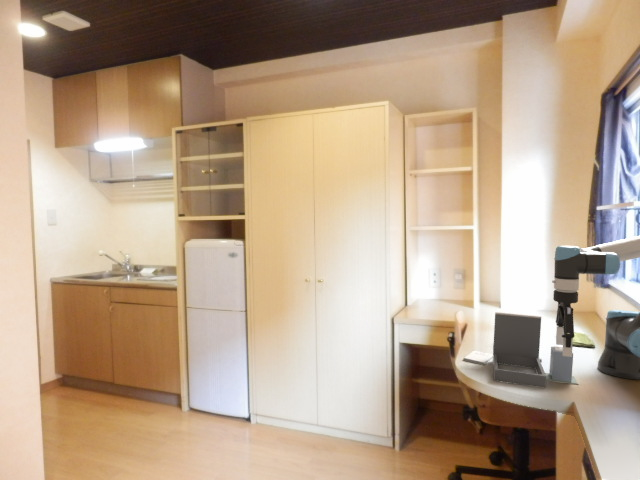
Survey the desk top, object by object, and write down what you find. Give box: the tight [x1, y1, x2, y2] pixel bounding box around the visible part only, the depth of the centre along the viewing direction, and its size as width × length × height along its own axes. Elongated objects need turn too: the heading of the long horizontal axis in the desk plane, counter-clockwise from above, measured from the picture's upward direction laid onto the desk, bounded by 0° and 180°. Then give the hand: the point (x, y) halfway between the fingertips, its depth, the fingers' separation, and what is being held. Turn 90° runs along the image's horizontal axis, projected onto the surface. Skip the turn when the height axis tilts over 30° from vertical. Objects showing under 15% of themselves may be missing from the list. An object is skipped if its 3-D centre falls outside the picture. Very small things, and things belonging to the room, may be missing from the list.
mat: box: [545, 372, 579, 386], centre depth 159 cm, size 10×7×1 cm
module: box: [548, 346, 574, 382], centre depth 158 cm, size 6×6×10 cm
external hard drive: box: [462, 350, 493, 366], centre depth 178 cm, size 2×8×12 cm
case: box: [492, 311, 547, 389], centre depth 162 cm, size 17×21×20 cm
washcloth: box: [567, 331, 596, 348], centre depth 205 cm, size 13×18×3 cm
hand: (563, 350), depth 158 cm, fingers open, 13 cm apart
